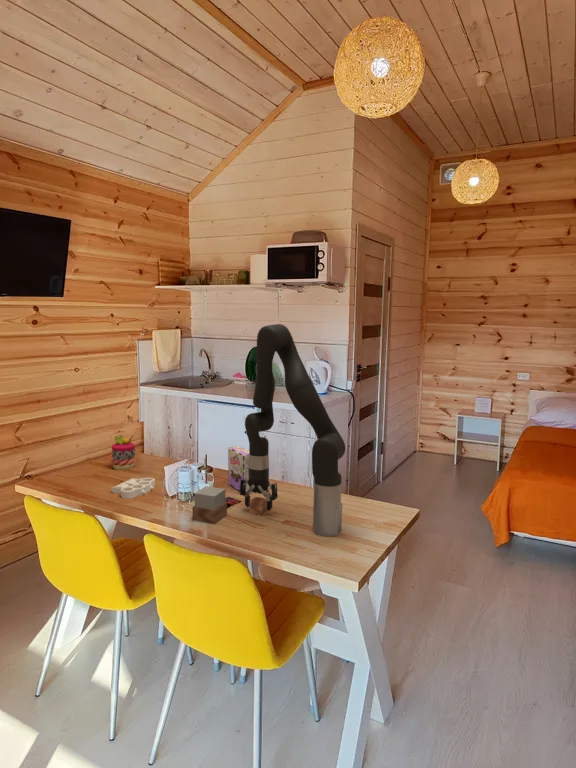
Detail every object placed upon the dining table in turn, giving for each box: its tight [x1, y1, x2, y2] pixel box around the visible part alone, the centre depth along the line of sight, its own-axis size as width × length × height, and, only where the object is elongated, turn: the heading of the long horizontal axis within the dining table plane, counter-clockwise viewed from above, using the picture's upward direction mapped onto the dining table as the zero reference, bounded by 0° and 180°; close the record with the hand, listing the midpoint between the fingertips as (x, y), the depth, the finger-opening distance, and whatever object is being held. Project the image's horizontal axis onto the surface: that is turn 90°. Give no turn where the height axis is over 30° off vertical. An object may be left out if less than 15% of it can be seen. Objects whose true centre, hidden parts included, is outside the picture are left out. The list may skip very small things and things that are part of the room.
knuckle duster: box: [110, 477, 156, 499], centre depth 210 cm, size 3×18×15 cm
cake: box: [110, 434, 137, 471], centre depth 240 cm, size 10×11×15 cm
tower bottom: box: [191, 501, 228, 525], centre depth 184 cm, size 9×9×5 cm
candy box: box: [227, 445, 250, 492], centre depth 215 cm, size 14×6×16 cm, turn 33°
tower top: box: [194, 486, 226, 510], centre depth 184 cm, size 8×8×5 cm
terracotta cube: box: [248, 496, 268, 517], centre depth 189 cm, size 5×5×5 cm
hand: (258, 508), depth 190 cm, fingers open, 8 cm apart
